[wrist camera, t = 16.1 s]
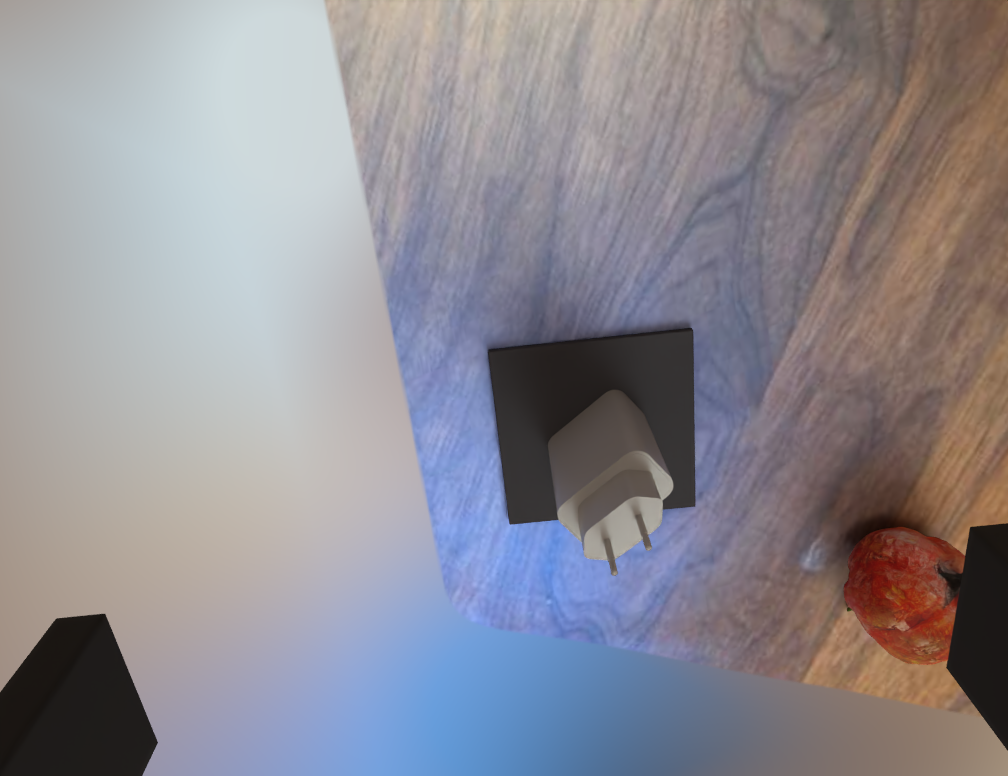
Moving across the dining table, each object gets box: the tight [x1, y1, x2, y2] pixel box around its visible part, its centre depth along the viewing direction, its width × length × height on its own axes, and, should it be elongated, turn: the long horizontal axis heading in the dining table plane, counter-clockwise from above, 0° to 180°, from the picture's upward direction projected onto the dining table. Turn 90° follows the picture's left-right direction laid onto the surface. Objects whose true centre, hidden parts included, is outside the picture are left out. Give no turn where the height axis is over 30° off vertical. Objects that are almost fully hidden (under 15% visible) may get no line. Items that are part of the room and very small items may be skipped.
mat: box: [488, 328, 695, 524], centre depth 43 cm, size 11×11×1 cm
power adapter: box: [548, 390, 673, 576], centre depth 37 cm, size 3×5×12 cm, turn 133°
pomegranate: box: [844, 527, 965, 665], centre depth 44 cm, size 7×7×10 cm
